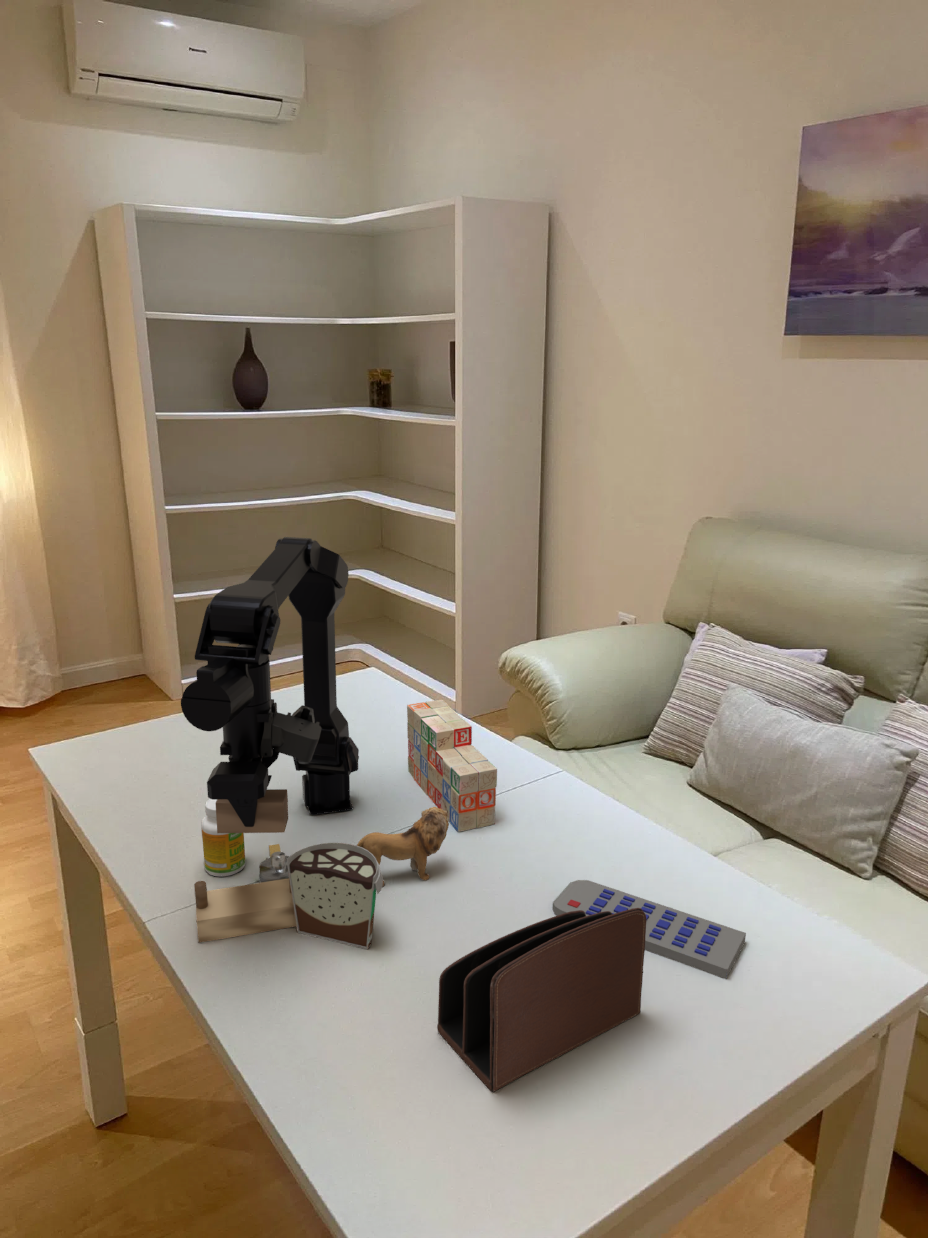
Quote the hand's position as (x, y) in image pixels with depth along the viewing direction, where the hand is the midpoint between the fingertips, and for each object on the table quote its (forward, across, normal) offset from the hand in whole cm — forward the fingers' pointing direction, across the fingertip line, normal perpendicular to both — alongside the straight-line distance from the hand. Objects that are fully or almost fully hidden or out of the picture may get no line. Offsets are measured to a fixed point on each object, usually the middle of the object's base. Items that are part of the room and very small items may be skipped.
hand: (252, 818), depth 112 cm
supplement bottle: (+13, +10, +6) cm, 17 cm away
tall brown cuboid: (+1, 0, 0) cm, 1 cm away
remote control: (+13, -6, -48) cm, 51 cm away
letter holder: (+13, -21, -33) cm, 41 cm away
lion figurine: (+13, +7, -18) cm, 23 cm away
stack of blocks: (+12, +29, -25) cm, 40 cm away
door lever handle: (+12, +8, -2) cm, 15 cm away
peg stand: (+13, -2, 0) cm, 13 cm away
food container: (+13, -4, -11) cm, 17 cm away
